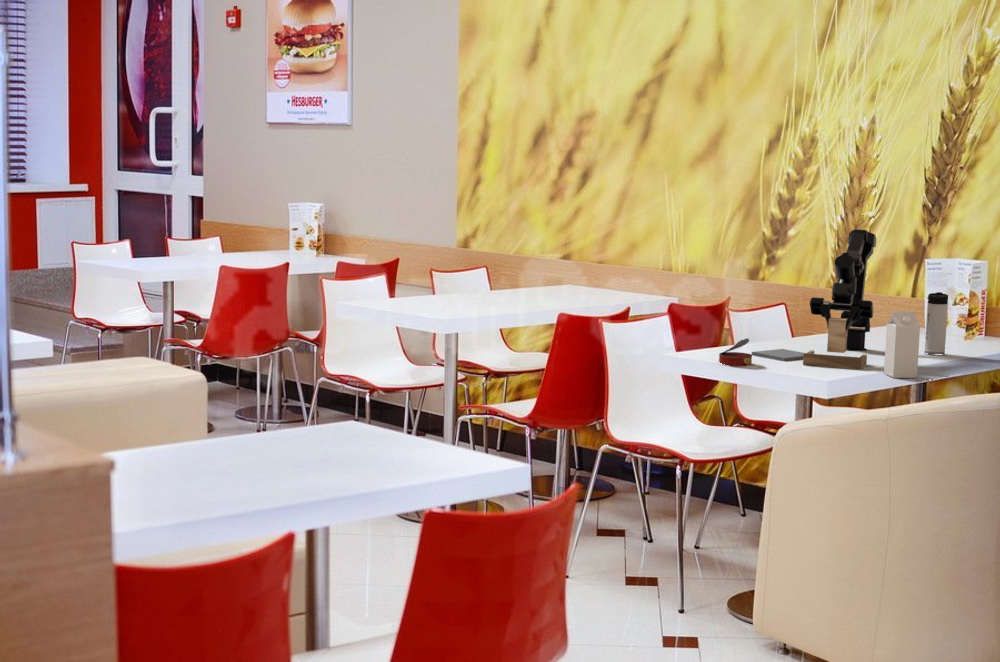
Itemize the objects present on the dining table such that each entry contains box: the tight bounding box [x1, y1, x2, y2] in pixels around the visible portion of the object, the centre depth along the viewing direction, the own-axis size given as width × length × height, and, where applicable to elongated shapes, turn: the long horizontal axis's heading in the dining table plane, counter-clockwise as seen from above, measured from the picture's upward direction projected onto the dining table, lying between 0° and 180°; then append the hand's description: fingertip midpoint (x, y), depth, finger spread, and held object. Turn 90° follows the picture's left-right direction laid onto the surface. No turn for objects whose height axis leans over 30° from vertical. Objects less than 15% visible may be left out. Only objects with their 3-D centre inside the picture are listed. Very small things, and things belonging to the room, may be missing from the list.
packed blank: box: [826, 317, 848, 354], centre depth 394 cm, size 5×5×10 cm
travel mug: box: [924, 291, 949, 355], centre depth 417 cm, size 6×7×20 cm
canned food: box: [718, 337, 753, 367], centre depth 391 cm, size 11×10×10 cm
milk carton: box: [883, 310, 921, 379], centre depth 372 cm, size 7×7×19 cm
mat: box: [751, 348, 805, 362], centre depth 407 cm, size 14×14×1 cm
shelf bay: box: [802, 349, 868, 370], centre depth 393 cm, size 12×17×4 cm
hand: (837, 328), depth 392 cm, fingers closed on packed blank, 5 cm apart
